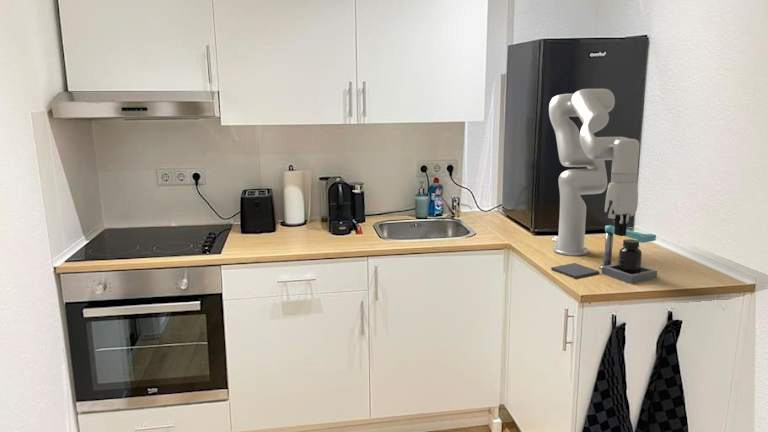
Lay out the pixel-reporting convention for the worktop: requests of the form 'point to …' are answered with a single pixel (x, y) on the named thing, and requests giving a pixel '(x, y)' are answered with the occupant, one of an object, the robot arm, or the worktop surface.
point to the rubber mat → (575, 270)
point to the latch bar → (633, 234)
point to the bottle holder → (629, 278)
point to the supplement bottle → (630, 257)
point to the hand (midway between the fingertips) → (620, 235)
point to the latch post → (608, 250)
